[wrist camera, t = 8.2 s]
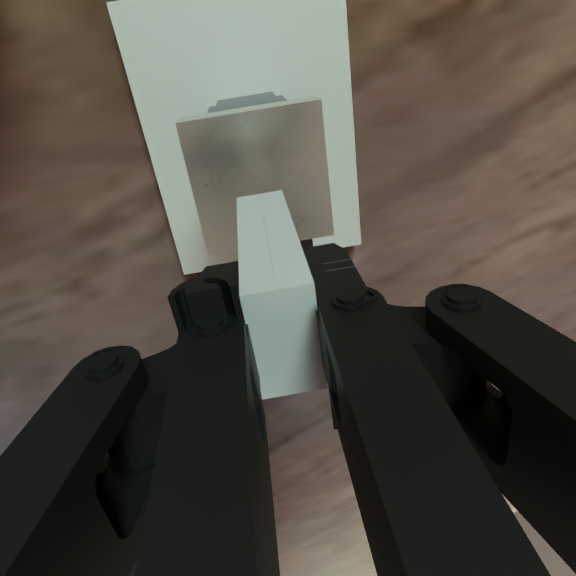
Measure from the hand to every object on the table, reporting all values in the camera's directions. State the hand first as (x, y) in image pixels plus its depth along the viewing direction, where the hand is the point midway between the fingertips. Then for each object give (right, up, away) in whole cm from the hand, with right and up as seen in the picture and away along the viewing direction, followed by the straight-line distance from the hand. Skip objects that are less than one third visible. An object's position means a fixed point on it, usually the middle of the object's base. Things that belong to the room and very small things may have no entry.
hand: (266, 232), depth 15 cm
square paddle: (-1, +5, +14) cm, 15 cm away
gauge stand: (-2, +9, +17) cm, 20 cm away
